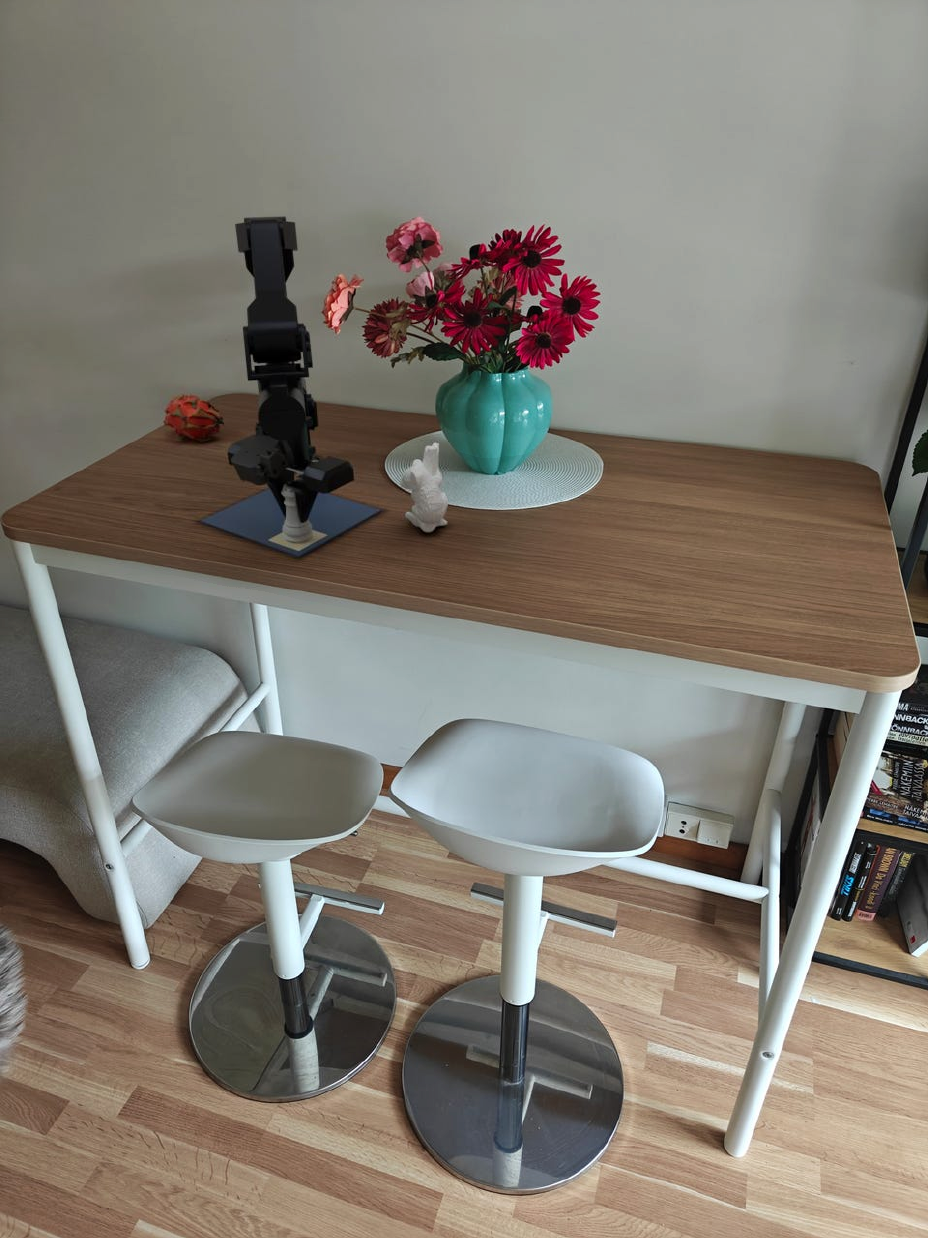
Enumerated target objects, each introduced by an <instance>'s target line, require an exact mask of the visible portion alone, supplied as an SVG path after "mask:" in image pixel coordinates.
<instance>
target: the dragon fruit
mask: <svg viewBox="0 0 928 1238" xmlns="http://www.w3.org/2000/svg"><path fill="white" fill-rule="evenodd" d="M164 412H165V413H166V415H165V417H164V420H163V422H162V423H163V424H164V426H167V427H170V428H172V429H173V430H174V433H175V435H176V436H177V437H178V439H179V440H183V439H185V437H188V438H191V439H193V440H194V441H198V442H207V441H210V440H211V441H212V438H210V437H205V436H206V435H209V434H217V433H220V432H221V428H222V426H221V425H223V426H224V425H225V423H224V421H223V420H224V418H223V416H222V415H223V414H222V413H220V410H218V409H216V408H215V405H214V404H212V403H211V402H209V401H207V400H201V399H200V397H199V396H197V395H194V394H190V395H188V394H186V393H181V394H179V395H178V396H175V397H172V398H171V400H170V402H169V403H168V405H167V406H166V407H165V410H164Z"/></svg>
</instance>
